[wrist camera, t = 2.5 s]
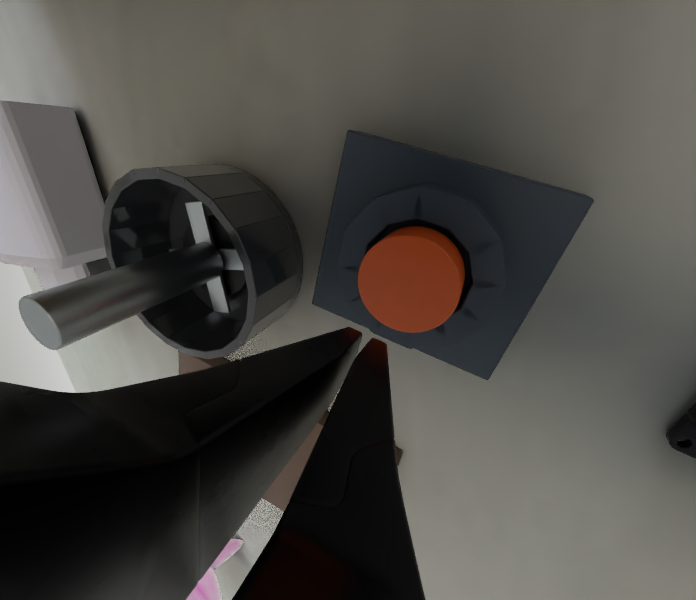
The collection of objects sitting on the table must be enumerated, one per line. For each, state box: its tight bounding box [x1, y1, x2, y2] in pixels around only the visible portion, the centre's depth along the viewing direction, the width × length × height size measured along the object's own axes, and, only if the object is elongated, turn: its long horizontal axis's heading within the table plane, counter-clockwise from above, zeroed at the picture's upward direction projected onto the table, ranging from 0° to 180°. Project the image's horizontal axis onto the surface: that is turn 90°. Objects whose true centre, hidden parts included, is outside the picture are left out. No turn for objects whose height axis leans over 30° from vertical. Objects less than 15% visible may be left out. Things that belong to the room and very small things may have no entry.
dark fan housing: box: [102, 164, 303, 359], centre depth 19 cm, size 10×10×4 cm
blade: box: [19, 201, 247, 350], centre depth 16 cm, size 7×7×10 cm
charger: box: [0, 101, 107, 290], centre depth 24 cm, size 5×9×15 cm
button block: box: [312, 130, 594, 380], centre depth 15 cm, size 10×9×3 cm
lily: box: [186, 539, 243, 600], centre depth 35 cm, size 12×12×10 cm
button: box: [358, 226, 465, 333], centre depth 13 cm, size 4×4×2 cm
